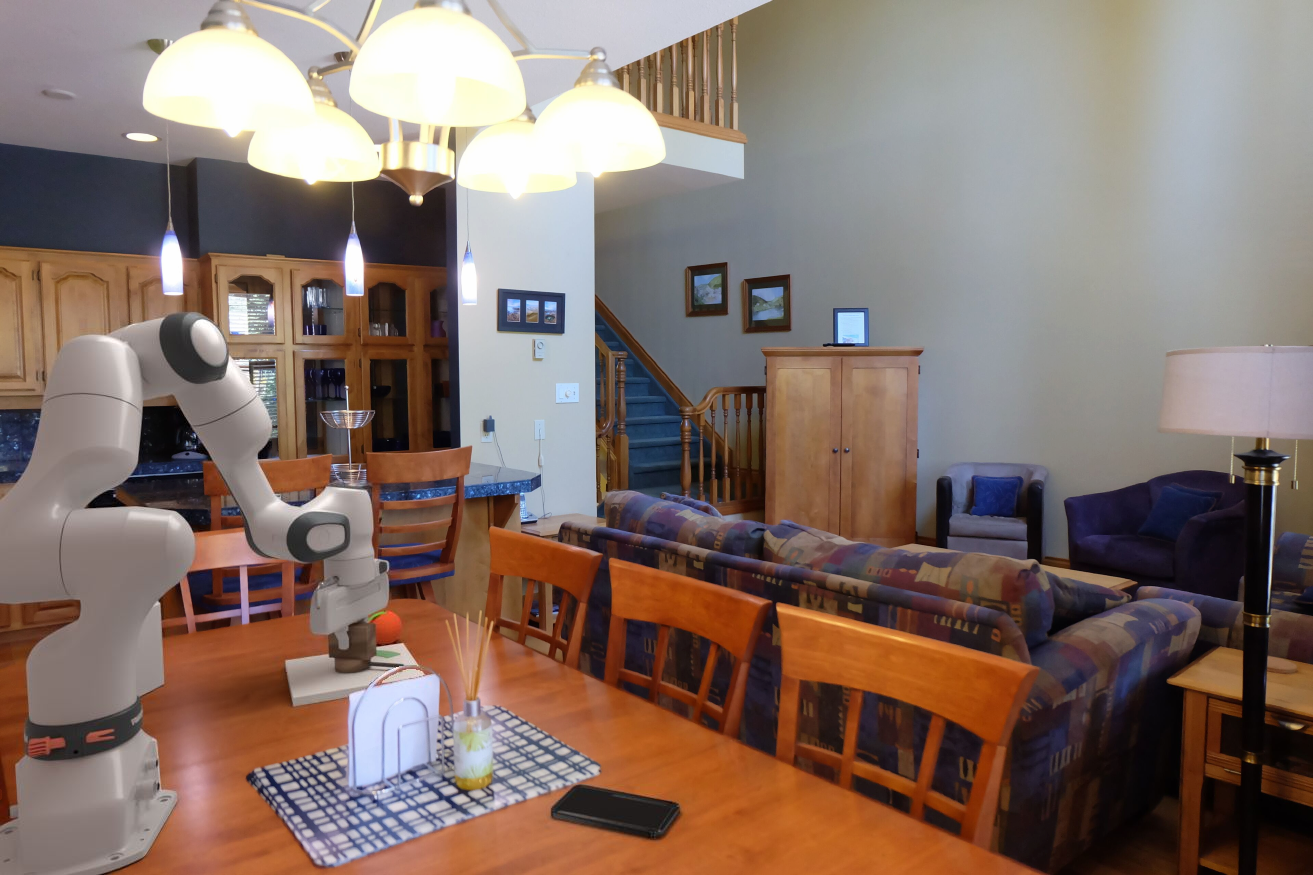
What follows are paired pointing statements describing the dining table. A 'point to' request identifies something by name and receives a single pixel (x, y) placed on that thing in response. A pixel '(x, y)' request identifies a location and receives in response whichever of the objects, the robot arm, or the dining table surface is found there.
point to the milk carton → (150, 653)
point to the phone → (616, 811)
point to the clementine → (386, 627)
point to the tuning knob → (356, 649)
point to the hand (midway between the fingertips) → (352, 644)
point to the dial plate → (342, 675)
